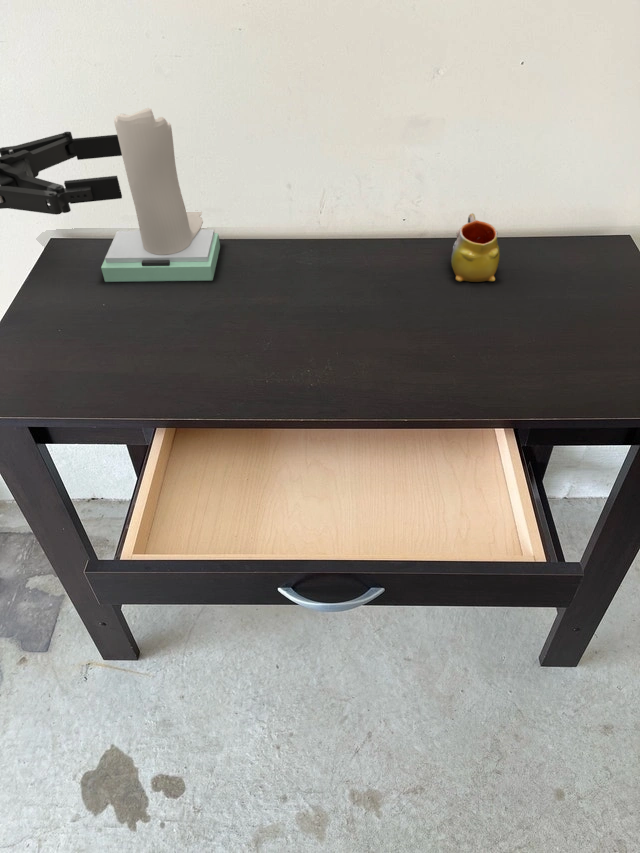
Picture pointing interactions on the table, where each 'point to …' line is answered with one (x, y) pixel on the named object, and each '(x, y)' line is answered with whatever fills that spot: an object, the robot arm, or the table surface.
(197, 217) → the candle
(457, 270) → the mug
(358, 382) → the table surface
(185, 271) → the scale
